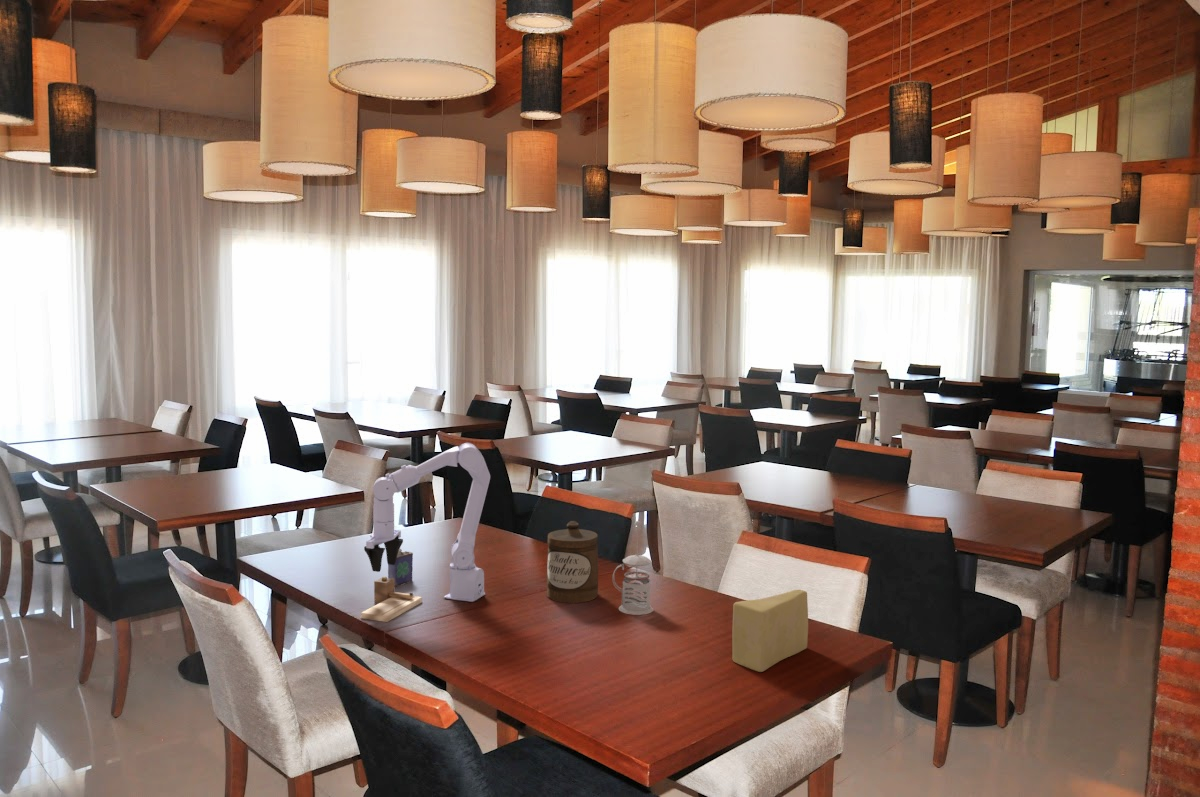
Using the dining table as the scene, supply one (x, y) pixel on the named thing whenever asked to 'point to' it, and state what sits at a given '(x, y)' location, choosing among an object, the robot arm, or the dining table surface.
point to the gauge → (387, 590)
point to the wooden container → (572, 565)
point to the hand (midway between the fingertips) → (384, 567)
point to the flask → (401, 568)
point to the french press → (635, 585)
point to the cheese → (769, 629)
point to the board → (390, 608)
